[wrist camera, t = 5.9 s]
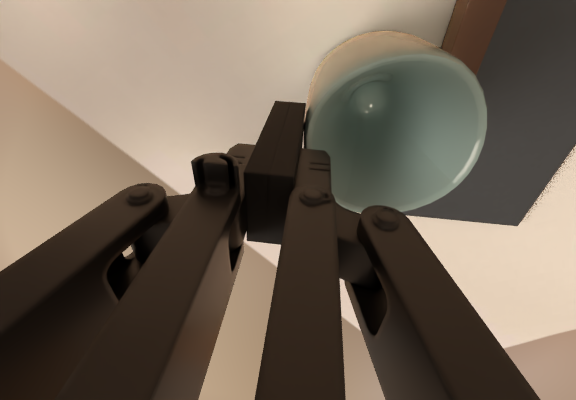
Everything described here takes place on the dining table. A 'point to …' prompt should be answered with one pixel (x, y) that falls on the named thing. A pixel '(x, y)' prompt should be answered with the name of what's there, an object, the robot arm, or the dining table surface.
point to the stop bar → (472, 30)
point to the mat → (520, 114)
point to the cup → (395, 120)
